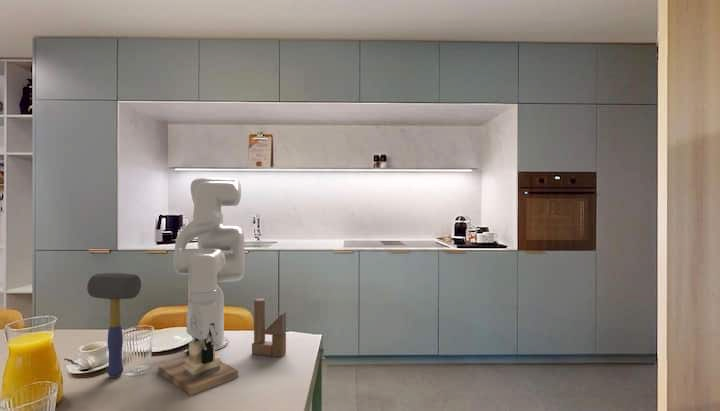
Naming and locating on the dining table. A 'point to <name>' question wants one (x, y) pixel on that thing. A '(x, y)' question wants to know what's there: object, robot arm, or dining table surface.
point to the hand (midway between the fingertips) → (203, 359)
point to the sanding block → (199, 361)
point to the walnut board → (193, 386)
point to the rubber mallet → (114, 310)
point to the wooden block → (268, 332)
